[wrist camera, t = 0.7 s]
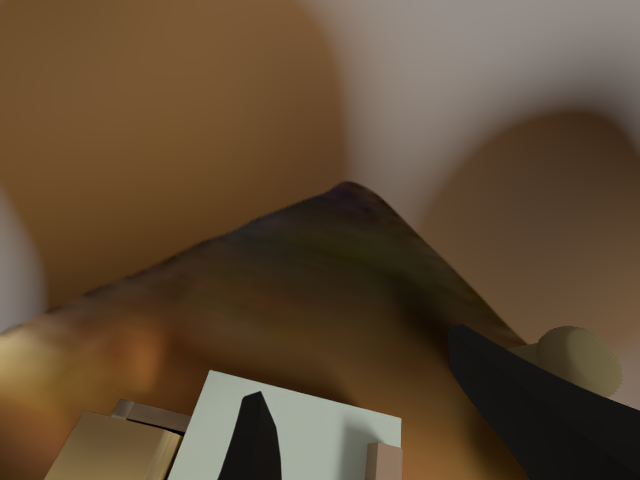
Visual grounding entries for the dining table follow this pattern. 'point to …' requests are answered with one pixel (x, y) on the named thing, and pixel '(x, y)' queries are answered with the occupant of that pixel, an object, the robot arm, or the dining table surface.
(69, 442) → the wooden block
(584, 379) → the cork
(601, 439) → the robot arm
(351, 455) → the lid
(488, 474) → the dining table surface
